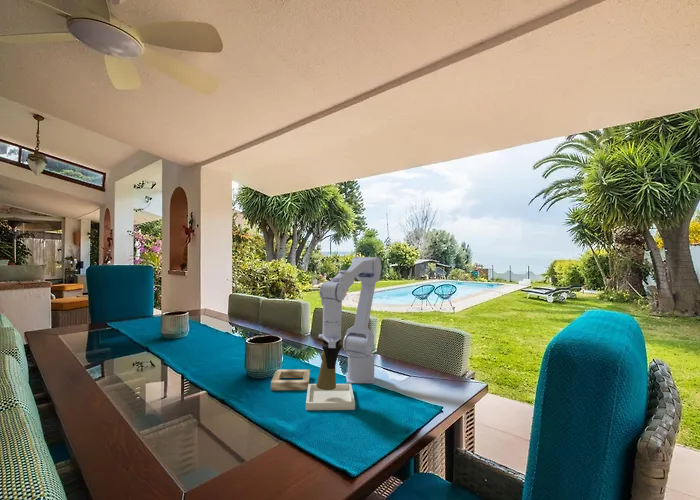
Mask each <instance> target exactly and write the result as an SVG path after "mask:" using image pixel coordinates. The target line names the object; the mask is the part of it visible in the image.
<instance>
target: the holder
mask: <svg viewBox="0 0 700 500" xmlns="http://www.w3.org/2000/svg"><path fill="white" fill-rule="evenodd" d="M276 370H277V371H276ZM276 370H275V372H274V374H273V376H272V378H271V381H270V391H308V384H310V379H311V369H276ZM281 378H303V379H281ZM306 389H307V390H306Z"/></svg>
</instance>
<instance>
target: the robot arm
mask: <svg viewBox="0 0 700 500" xmlns="http://www.w3.org/2000/svg"><path fill="white" fill-rule="evenodd" d="M381 273H382V262H381V259H380V258H379V256H375V257H373V256H372V257H370V256H369V257H368V256H355V257H354V258H352V260H351V265H350V266H349V267H348V268H347V269H345V270H343V269H341V270H340V271H339V273H338V274H337V275H335V276H334V277H332V279H331V280H329V281H325V282H323V283H322V284H321V285H320V289H319V298H320V301H321V305H322V334H321V333H319V334H318V338H319V339H322V342H323V344H322V346H321V348H322V351H323V350H324V353H325V356H326V363H327V368H328V369H335V370H336V366H337V365H336V364H337V360H338V358H337V356H338V357H339V354H340V351H341V350H342V348H343V349H344V351H345V354H346V355H347V373H346V374H345V378H346V379H345V380H346V384H374V383H375V355H374V354H372V353H373V351H374V347H375V343H374V340H375V339H374V338H375V335H374V333H373V332H372V330H370V328H369V323H370V317H371V312H372V311H371V310H372V305H373V299H374V296H375V295H374V294H375V287H376V283H378V282H379V281H380V279H381ZM355 278H356V280H358V281H359V282H361V287H360V291H359V292H360V293H359V298H358V303H357V307H356V308H357V309H356V313H355V319H354V322H353V323H354V325H352V326H351V327H349V328H348V329H347V330H346V332H345V336H344V338H343V342H342V345H339V344H340V342H341V339H342V336H343V335H342V312H343V310H342V309H343V308H342V306H343V300H345V298H346V294H347V292H348V289H350V287H351V286H352V285H354V282H355Z"/></svg>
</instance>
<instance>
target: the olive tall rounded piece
mask: <svg viewBox="0 0 700 500" xmlns="http://www.w3.org/2000/svg"><path fill="white" fill-rule="evenodd" d="M338 357H339V355H338V356H337V359H338ZM320 359H321V364H320V367H319V373H318V376H317V380H316V383H315V384H316V386H317V388H319V389H322V390H333V389H335V388H336V384H337V381H336V378H337V377H336V375H337V374H336V368H335V369H328V368H327V363H326V356H325V353H324V350H323V349H322V351H321V353H320Z"/></svg>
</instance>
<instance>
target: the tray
mask: <svg viewBox="0 0 700 500" xmlns="http://www.w3.org/2000/svg"><path fill="white" fill-rule="evenodd" d="M316 384H317V383H309V384H308V390H306V392H307V393H306V398H305V399H306V400H305V411H353V410H356V401H355V396H354V392H353V386H352V383H336V388H335V389H333V390H322V389H319V388H317V386H316Z"/></svg>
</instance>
